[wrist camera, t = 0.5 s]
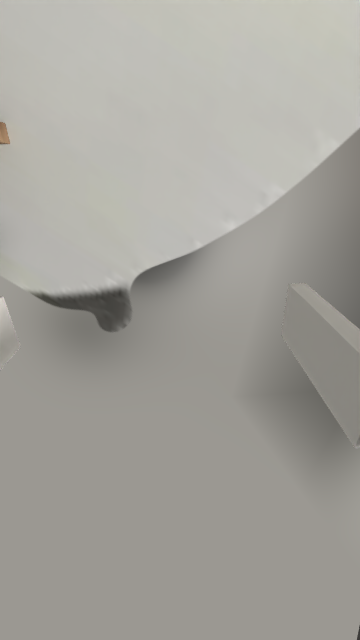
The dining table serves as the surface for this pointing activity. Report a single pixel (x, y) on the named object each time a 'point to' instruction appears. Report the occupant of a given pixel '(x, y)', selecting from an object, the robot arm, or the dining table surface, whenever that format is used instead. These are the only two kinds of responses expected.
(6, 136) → the rack
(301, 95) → the dining table surface
